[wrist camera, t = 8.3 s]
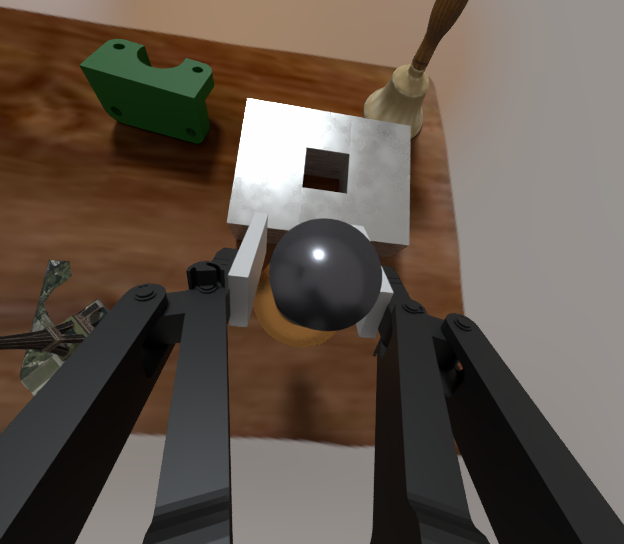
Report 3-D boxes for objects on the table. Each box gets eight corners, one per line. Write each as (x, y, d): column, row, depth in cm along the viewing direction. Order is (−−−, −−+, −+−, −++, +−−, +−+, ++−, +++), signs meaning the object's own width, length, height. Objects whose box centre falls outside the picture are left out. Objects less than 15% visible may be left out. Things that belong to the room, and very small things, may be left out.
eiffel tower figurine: (52, 259, 27) (-160, 200, 14) (154, 265, 28) (43, 216, 15) (14, 414, 24) (-300, 521, 11) (129, 414, 25) (-34, 513, 12)
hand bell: (353, 124, 34) (413, -45, 18) (377, 80, 36) (451, -108, 20) (408, 153, 34) (515, 10, 18) (430, 107, 36) (543, -58, 20)
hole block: (236, 239, 29) (226, 222, 24) (252, 132, 32) (247, 98, 27) (389, 257, 31) (409, 245, 26) (392, 154, 34) (410, 125, 29)
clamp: (212, 135, 36) (231, 78, 29) (196, 164, 33) (211, 109, 26) (116, 75, 31) (108, -12, 24) (87, 104, 29) (69, 15, 21)
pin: (256, 336, 20) (206, 371, 6) (265, 267, 21) (239, 167, 7) (326, 342, 21) (421, 385, 7) (331, 274, 22) (422, 194, 8)
